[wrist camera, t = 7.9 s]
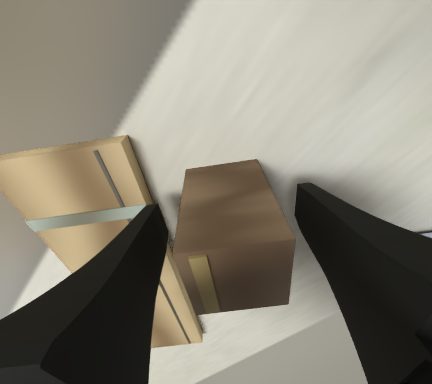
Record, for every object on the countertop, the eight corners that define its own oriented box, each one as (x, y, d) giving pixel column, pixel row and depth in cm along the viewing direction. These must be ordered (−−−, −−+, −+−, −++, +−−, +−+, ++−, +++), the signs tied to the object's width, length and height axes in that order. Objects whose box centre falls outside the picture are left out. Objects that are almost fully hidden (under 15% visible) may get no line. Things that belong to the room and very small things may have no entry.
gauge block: (256, 159, 12) (296, 240, 7) (258, 213, 14) (289, 306, 9) (185, 169, 12) (171, 257, 7) (198, 221, 14) (195, 317, 9)
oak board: (127, 135, 10) (119, 143, 10) (202, 331, 23) (202, 343, 22) (-5, 155, 11) (-25, 164, 10) (139, 338, 23) (137, 350, 22)
